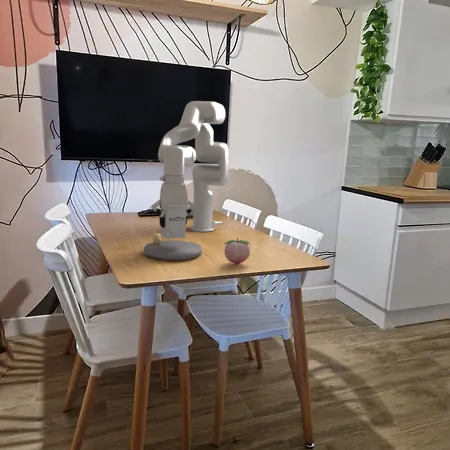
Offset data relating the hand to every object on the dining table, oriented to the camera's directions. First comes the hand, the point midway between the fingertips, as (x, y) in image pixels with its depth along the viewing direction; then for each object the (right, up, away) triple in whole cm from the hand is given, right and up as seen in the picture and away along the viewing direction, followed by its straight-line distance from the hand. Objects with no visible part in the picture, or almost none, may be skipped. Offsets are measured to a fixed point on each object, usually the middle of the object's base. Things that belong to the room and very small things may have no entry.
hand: (173, 226), depth 152 cm
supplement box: (0, -4, +1) cm, 4 cm away
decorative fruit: (+24, -14, -8) cm, 28 cm away
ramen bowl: (0, +5, +80) cm, 81 cm away
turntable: (0, -11, +2) cm, 11 cm away
